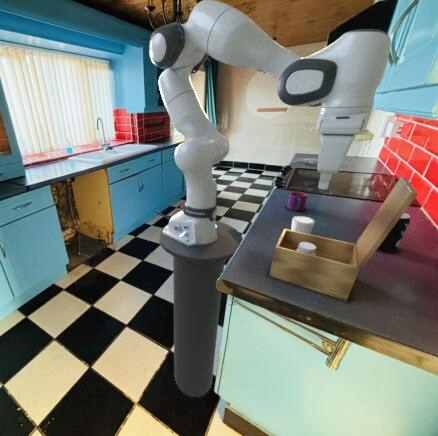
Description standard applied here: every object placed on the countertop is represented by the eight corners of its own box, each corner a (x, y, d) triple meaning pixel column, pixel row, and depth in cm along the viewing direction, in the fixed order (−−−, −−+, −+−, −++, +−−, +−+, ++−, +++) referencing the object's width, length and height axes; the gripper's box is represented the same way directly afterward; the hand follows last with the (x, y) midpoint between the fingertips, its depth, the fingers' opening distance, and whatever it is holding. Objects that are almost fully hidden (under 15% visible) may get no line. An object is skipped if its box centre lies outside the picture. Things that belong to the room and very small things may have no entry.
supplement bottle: (288, 265, 71) (294, 241, 67) (305, 265, 70) (312, 240, 67) (296, 275, 66) (303, 250, 63) (314, 275, 66) (321, 250, 62)
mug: (303, 206, 111) (306, 192, 108) (304, 214, 103) (307, 199, 100) (287, 204, 114) (290, 191, 111) (286, 212, 106) (289, 198, 103)
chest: (269, 275, 68) (275, 246, 64) (278, 255, 77) (284, 228, 73) (346, 301, 58) (359, 268, 54) (346, 274, 67) (358, 244, 63)
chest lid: (411, 192, 44) (418, 194, 44) (401, 176, 53) (406, 177, 53) (358, 266, 54) (363, 267, 53) (356, 242, 63) (360, 243, 62)
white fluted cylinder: (314, 240, 84) (320, 222, 81) (296, 242, 83) (300, 224, 80) (302, 231, 90) (306, 214, 87) (284, 233, 90) (288, 216, 87)
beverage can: (389, 254, 74) (405, 220, 69) (365, 245, 79) (377, 212, 74) (400, 249, 76) (416, 215, 71) (376, 240, 82) (389, 208, 77)
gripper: (326, 118, 60) (312, 171, 66) (320, 125, 46) (303, 192, 52) (358, 118, 57) (341, 174, 63) (362, 125, 42) (339, 197, 48)
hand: (323, 183), depth 57 cm, fingers open, 8 cm apart
